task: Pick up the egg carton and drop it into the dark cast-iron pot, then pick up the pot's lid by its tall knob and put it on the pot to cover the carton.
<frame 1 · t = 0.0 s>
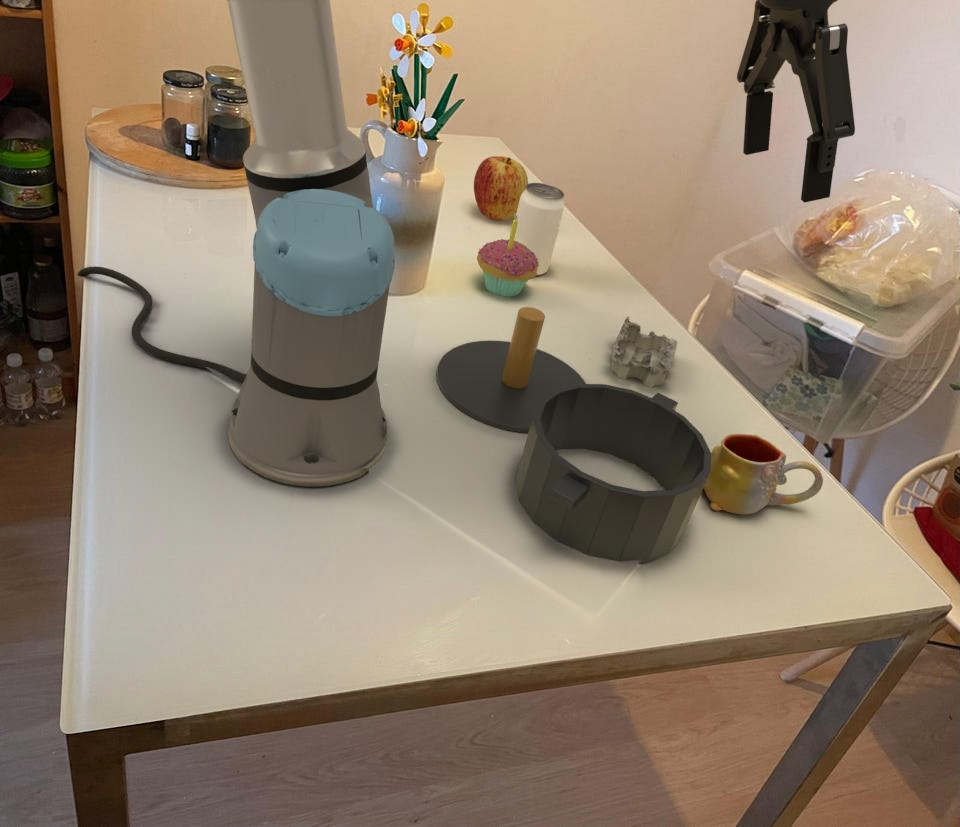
hand: (783, 174, 91), 28 cm above the table, tool tilted 20°, fingers open, 13 cm apart
pot: (598, 502, 84), on the table
apple: (494, 216, 140), on the table
egg carton: (638, 368, 108), on the table
cupcake: (500, 291, 118), on the table
can: (526, 268, 126), on the table
lid: (513, 385, 97), point 1 cm above the table
mug: (752, 503, 89), on the table
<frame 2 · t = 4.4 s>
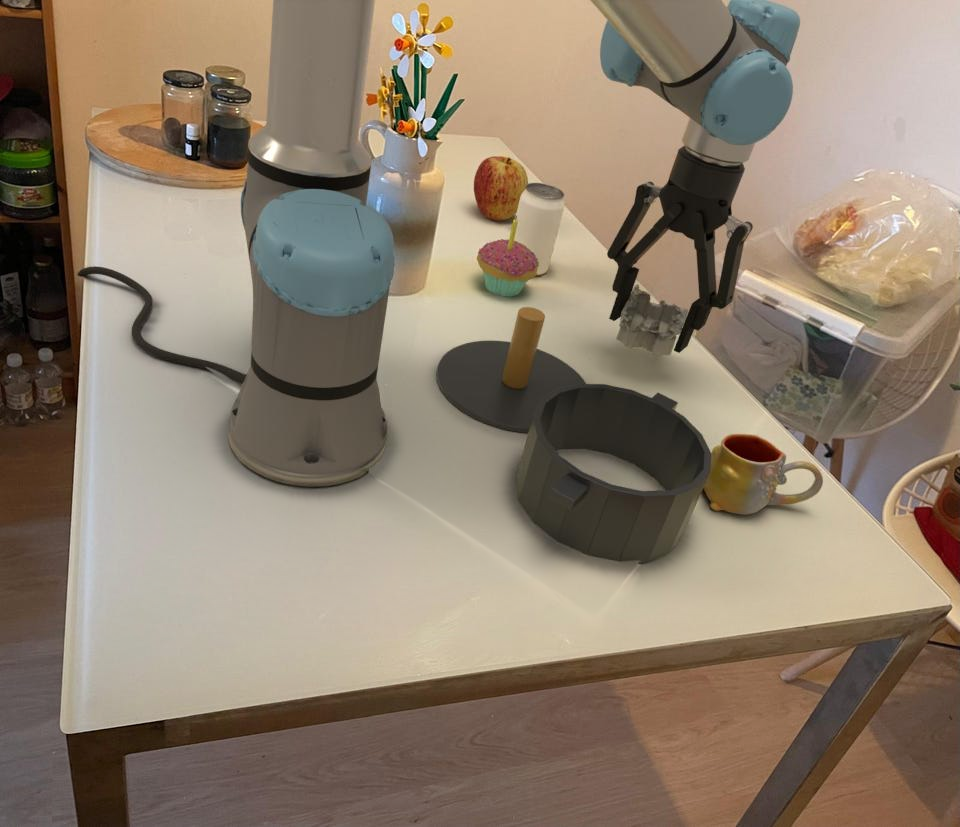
hand: (648, 332, 105), 5 cm above the table, tool pointing down, fingers closed on egg carton, 8 cm apart
egg carton: (647, 336, 105), point 5 cm above the table, touching gripper
everything else where it was.
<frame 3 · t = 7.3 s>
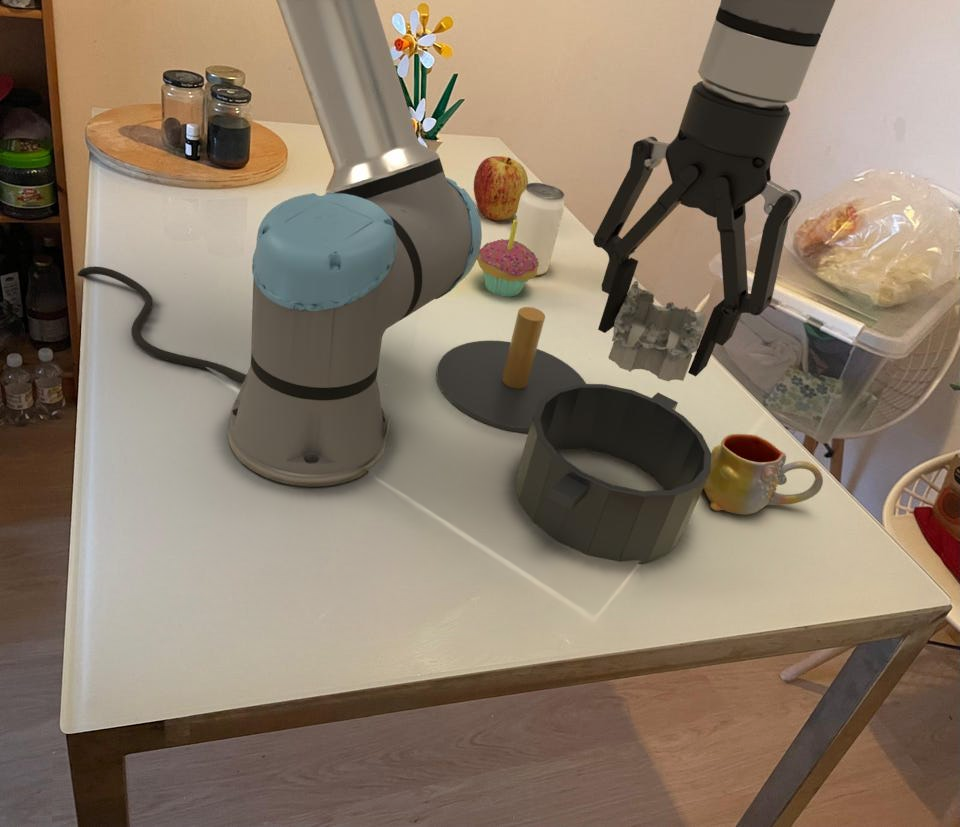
hand: (651, 347, 76), 17 cm above the table, tool pointing down, fingers closed on egg carton, 8 cm apart
egg carton: (650, 352, 76), point 17 cm above the table, touching gripper
everything else where it was.
when the fingers open (4 cm above the table, at t = 10.7 s): egg carton drops 3 cm, resting on pot.
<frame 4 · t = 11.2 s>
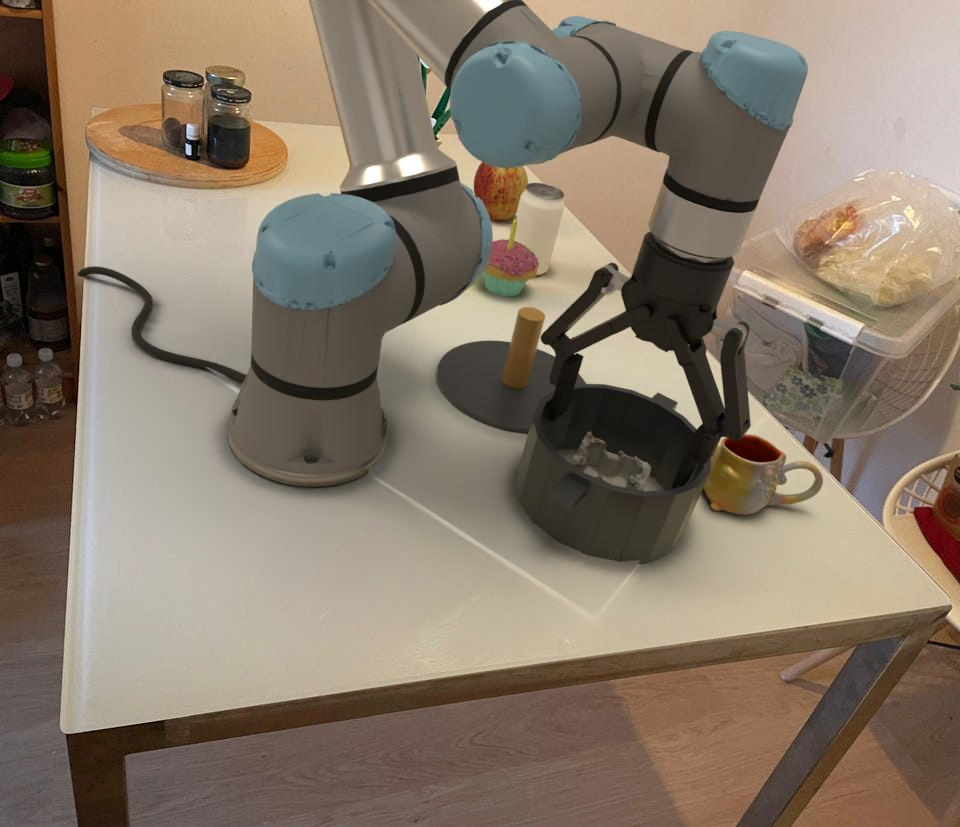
hand: (616, 448, 80), 7 cm above the table, tool pointing down, fingers open, 13 cm apart
egg carton: (598, 500, 84), resting on pot
everything else where it was.
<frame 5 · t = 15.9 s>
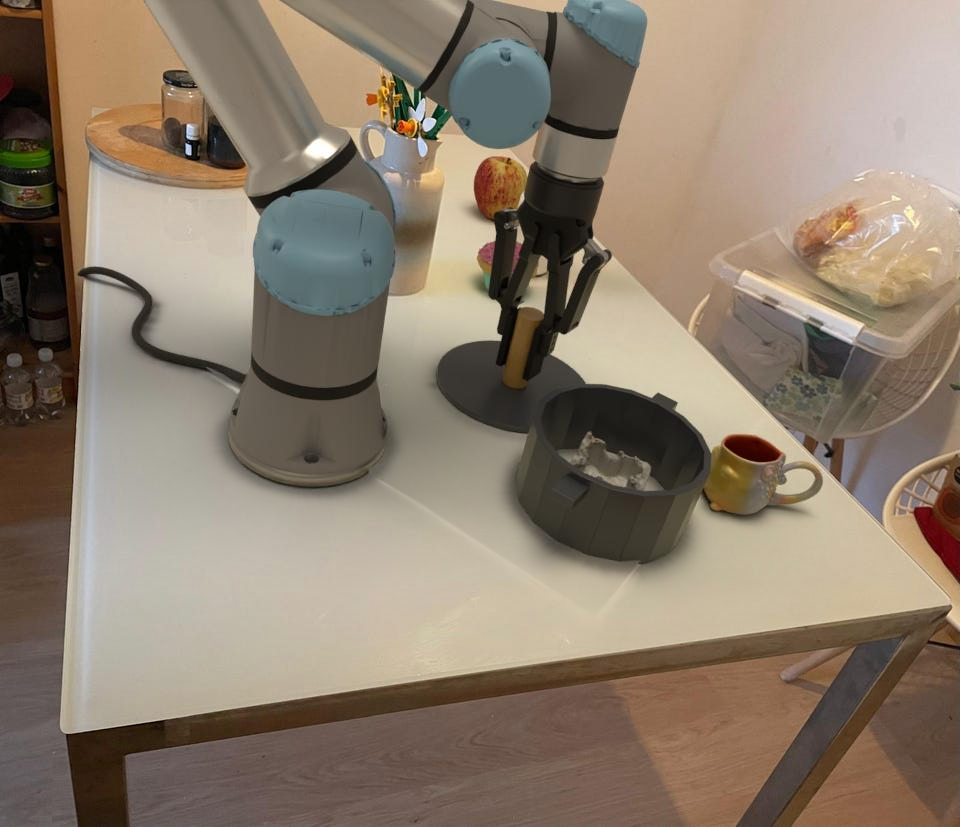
hand: (517, 368, 96), 3 cm above the table, tool pointing down, fingers closed on lid, 3 cm apart
lid: (513, 385, 97), point 1 cm above the table, touching gripper
everything else where it was.
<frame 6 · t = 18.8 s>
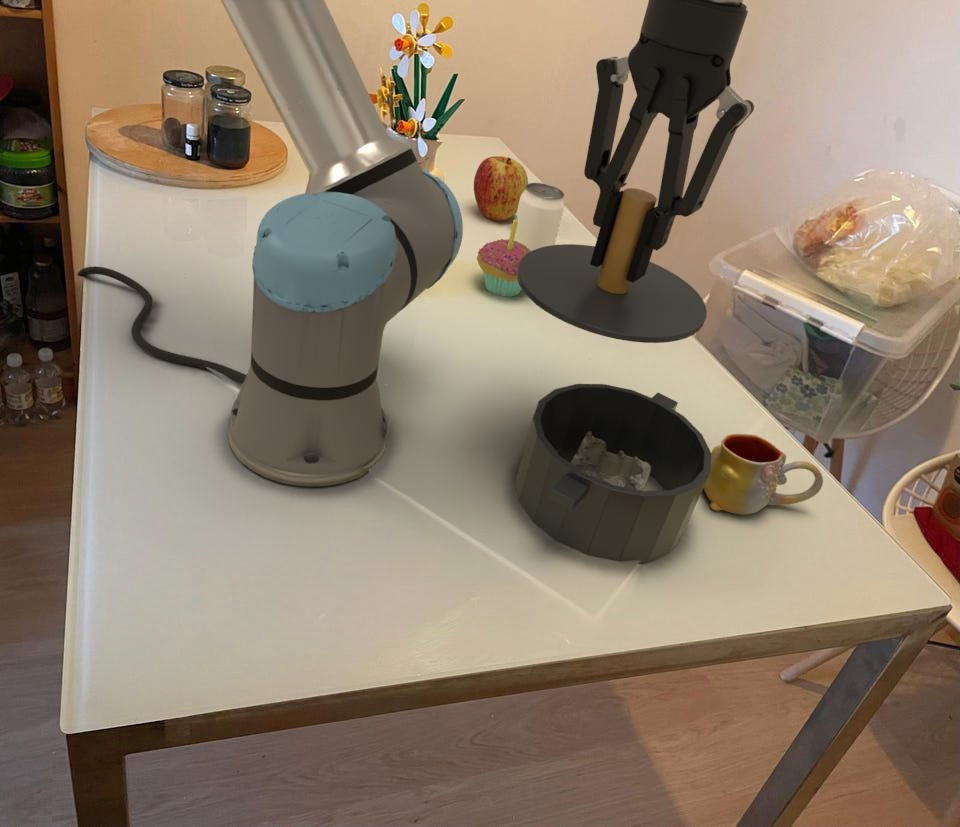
hand: (617, 268, 77), 22 cm above the table, tool pointing down, fingers closed on lid, 3 cm apart
lid: (610, 292, 79), point 19 cm above the table, touching gripper
everything else where it was.
when the fingers open (11 cm above the table, at t = 22.1 s): lid stays where it is, resting on pot.
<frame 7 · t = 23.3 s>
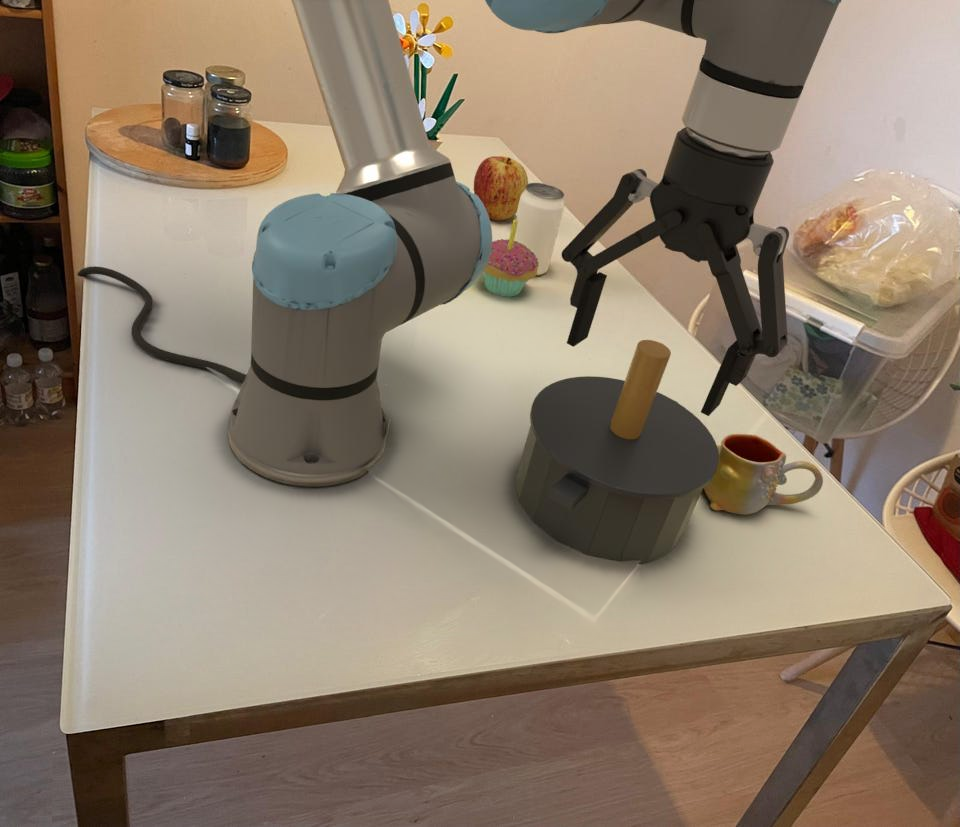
hand: (641, 373, 75), 15 cm above the table, tool pointing down, fingers open, 13 cm apart
lid: (623, 435, 79), point 8 cm above the table, touching pot
everything else where it was.
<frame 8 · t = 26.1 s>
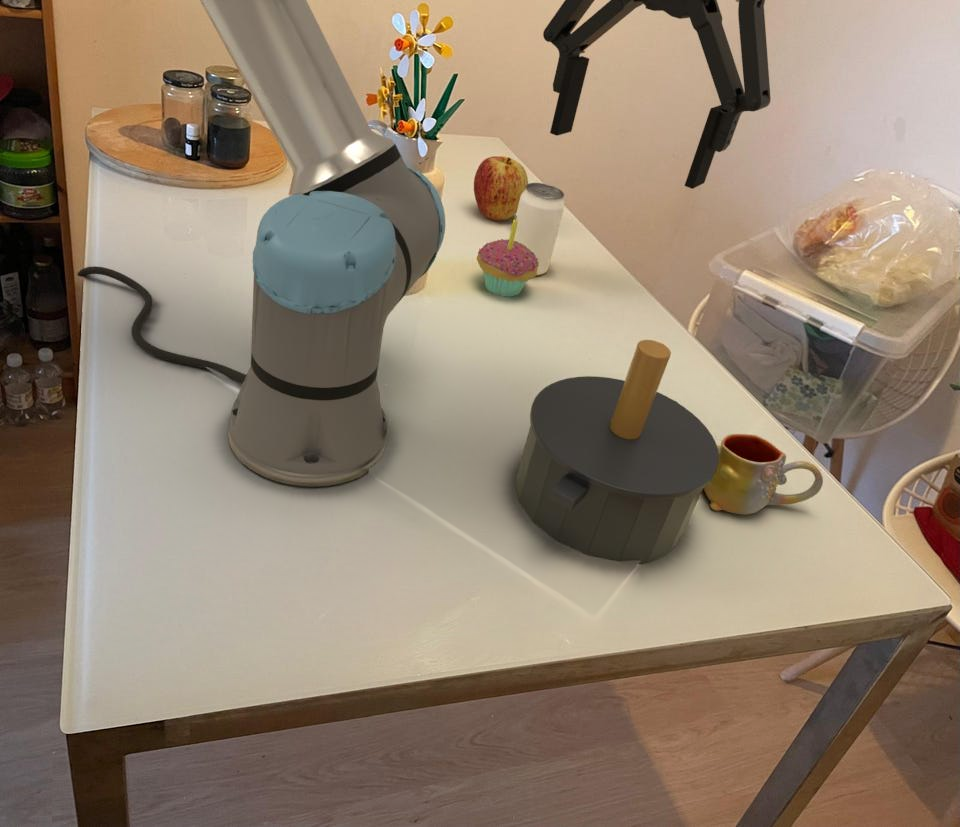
hand: (625, 158, 75), 31 cm above the table, tool pointing down, fingers open, 13 cm apart
nothing on the table moved.
at the end: egg carton inside the target area in the pot (0.0 cm from its centre), point 0.3 cm above the pot's base; lid 0.0 cm off-centre on the pot, point 8.5 cm above the pot's base; lid tilted 0° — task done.
